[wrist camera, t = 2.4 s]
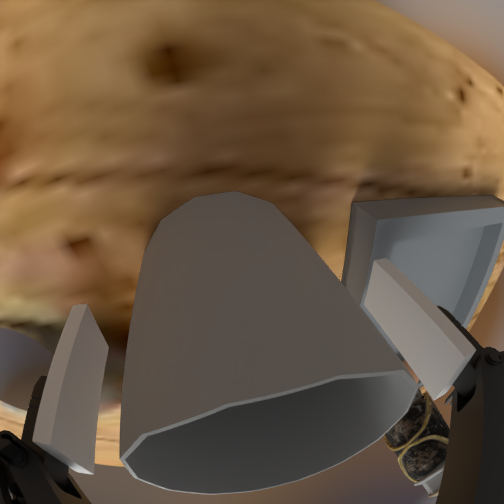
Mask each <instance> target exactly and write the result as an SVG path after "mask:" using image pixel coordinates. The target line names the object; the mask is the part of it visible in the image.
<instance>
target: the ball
mask: <svg viewBox="0 0 504 504" xmlns="http://www.w3.org/2000/svg"><path fill="white" fill-rule="evenodd" d="M402 363H403V364H404V365H405V367H406V368H407V370H408V371H409V372H410V374H411V375H412V377H413V378H414V380H415V381H416V382H417V384H418V382H419V378H418V377H417V375H416V374H415V372H414V371H413V370H412V368H411V367H410V365H409V364H408V363H407V361H402Z"/></svg>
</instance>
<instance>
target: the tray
mask: <svg viewBox="0 0 504 504" xmlns="http://www.w3.org/2000/svg"><path fill="white" fill-rule="evenodd" d="M503 239H504V201H503V200H501V199H499V198H497V197H495V196H493V195H484V196H449V197H426V198H407V199H391V200H377V201H363V202H352V206H351V216H350V225H349V233H348V241H347V248H346V256H345V262H344V269H343V275H342V281H341V283H342V284H343V285H344V287H345V288H346V289H347V290H348V292H349V293H350V294H351V295H352V297H353V298H354V299H355V300H356V302H357V303H358V304H359V305H360V307H361V308H362V309H363V311H364V312H365V313H366V315H367V316H368V317H369V318H370V320H371V321H372V322H373V324H374V325H375V326H376V328H377V329H378V330H379V332H380V333H381V334H382V336H383V337H384V338H385V340H386V341H387V342H388V344H389V345H390V346H391V348H392V349H393V350H394V352H395V353H396V354H397V356H398V357H399V359H400V360H401V361H406V360H405V358H404V357H403V356H402V354H401V353H400V352H399V350H398V349H397V348H396V346H395V345H394V343H393V342H392V341H391V339H390V338H389V337H388V335H387V334H386V333H385V331H384V330H383V329H382V328H381V326H380V325H379V324H378V322H377V321H376V320H375V318H374V317H373V316H372V315H371V313H370V312H369V311H368V309H367V308H366V307H365V306H364V302H365V298H366V294H367V290H368V285H369V281H370V277H371V272H372V267H373V262H374V260H378V259H383V258H387V259H388V260H389V261H390V262H391V263H392V264H393V265H395V266H396V267H397V268H398V269H399V270H400V271H401V272H402V273H403V274H404V275H405V276H406V277H407V278H408V279H409V280H410V281H412V282H413V283H414V284H415V285H416V286H417V287H418V288H419V289H420V290H421V291H422V292H423V293H424V294H425V295H426V296H427V297H428V298H429V299H430V300H431V301H432V302H433V303H434V304H435V305H436V306H441V307H443V308H444V309H446V310H448V311H449V312H450V313H451V314H452V315H453V316H454V317H455V318H456V320H458V321H459V322H460V324H461V326H463V327H464V328H465V329H466V328H467V326H468V324H469V322H470V320H471V318H472V316H473V314H474V312H475V310H476V308H477V306H478V304H479V302H480V299H481V297H482V295H483V293H484V290H485V288H486V286H487V283H488V281H489V279H490V276H491V273H492V271H493V268H494V266H495V263H496V260H497V257H498V255H499V252H500V249H501V246H502V243H503ZM418 385H419V387H421V386H423V384H422V382H421V381H420V379H419V382H418Z"/></svg>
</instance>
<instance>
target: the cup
mask: <svg viewBox="0 0 504 504" xmlns="http://www.w3.org/2000/svg"><path fill="white" fill-rule="evenodd" d="M418 388H419V385H418V384H417V382H416V381H415V380H414V378H413V377H412V375H411V374H410V372H409V371H408V370H407V368H406V367H405V365H404V364H403V363H402V361H401V360H400V359H399V357H398V356H397V354H396V353H395V352H394V350H393V349H392V348H391V346H390V345H389V344H388V342H387V341H386V340H385V338H384V337H383V336H382V334H381V333H380V332H379V330H378V329H377V328H376V326H375V325H374V324H373V322H372V321H371V320H370V318H369V317H368V316H367V315H366V313H365V312H364V311H363V309H362V308H361V307H360V305H359V304H358V303H357V302H356V300H355V299H354V298H353V297H352V295H351V294H350V293H349V292H348V290H347V289H346V288H345V287H344V285H343V284H342V283H341V282H340V280H339V279H338V278H337V277H336V275H335V274H334V273H333V272H332V270H331V269H330V268H329V267H328V266H327V264H326V263H325V262H324V261H323V260H322V258H321V257H320V256H319V255H318V253H317V252H316V251H315V250H314V249H313V248H312V246H311V245H310V244H309V243H308V242H307V240H306V239H305V238H304V237H303V236H302V235H301V233H300V232H299V231H298V230H297V229H296V228H295V226H294V225H293V224H292V223H291V222H290V221H289V220H288V219H287V218H286V217H285V216H284V215H283V214H282V213H281V211H280V210H279V209H278V208H277V207H276V206H275V205H274V204H273V203H271V202H268V201H265V200H262V199H259V198H256V197H253V196H250V195H247V194H244V193H241V192H238V191H231V192H224V193H217V194H210V195H204V196H197V197H194V198H192V199H191V200H189V201H188V202H186V203H185V204H183V205H182V206H180V207H179V208H177V209H176V210H174V211H173V212H171V213H170V214H169V215H167V216H166V217H164V218H163V219H161V221H160V223H159V225H158V227H157V228H156V230H155V232H154V234H153V236H152V238H151V240H150V242H149V244H148V246H147V247H146V249H145V251H144V256H143V260H142V265H141V269H140V274H139V279H138V284H137V289H136V294H135V300H134V305H133V311H132V317H131V323H130V330H129V337H128V344H127V351H126V359H125V368H124V378H123V389H122V402H121V418H120V460H121V461H122V463H123V464H124V465H125V467H126V468H127V469H128V471H129V472H130V473H131V474H132V475H133V477H134V478H136V479H138V480H141V481H144V482H146V483H149V484H151V485H154V486H157V487H160V488H163V489H166V490H171V491H178V492H186V493H196V494H229V493H241V492H250V491H257V490H262V489H267V488H271V487H275V486H280V485H283V484H287V483H291V482H295V481H298V480H301V479H304V478H307V477H309V476H312V475H314V474H317V473H319V472H322V471H324V470H326V469H329V468H331V467H333V466H335V465H338V464H340V463H342V462H344V461H346V460H347V459H349V458H351V457H352V456H354V455H356V454H357V453H359V452H360V451H362V450H363V449H365V448H367V447H368V446H370V445H371V444H373V443H374V442H376V441H377V440H379V439H380V438H381V437H382V436H383V435H384V434H386V433H387V432H388V431H389V430H390V429H391V428H392V427H393V426H394V425H395V424H396V423H397V422H398V421H399V420H400V419H401V418H402V417H403V416H404V415H405V414H406V413H407V412H408V410H409V408H410V406H411V403H412V401H413V399H414V397H415V395H416V393H417V390H418Z"/></svg>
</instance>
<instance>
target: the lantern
mask: <svg viewBox="0 0 504 504" xmlns="http://www.w3.org/2000/svg"><path fill="white" fill-rule="evenodd" d="M423 395H424V396H423ZM423 395H422V394H421V391H420V389H419V388H418V390H417V393H416V395H415V397H414V399H413V401H412V403H411V406H410V408H409V410H408V412H407V413H406V414H405V415H404V416H403V417H402V418H401V419H400V420H399V421H398V422H397V423H396V424H395V425H394V426H393V427H392V428H391V429H390V430H389V431H388V432H387V433H386V434H384V438H385V442H386V445H387V447H389V448H390V449H391V450H392V451H395V453H396V455H397V456H398V462H399V464H400V467H401V469H402V470H403V472H404V474H405V475H406V476H407V477H408V478H409V479H410V480H412V481H413V482H416V483H415V486H416V485H420V484H422V485H423V486H424V487H425V488H426V490H427V492H428V493H429V494H430V495H429V496H428V497H433V496H438V493H439V489H440V485H441V480H442V476H443V471H444V466H445V460H446V454H447V448H448V441H449V433H450V429H449V427H448V425H447V424H446V422H445V421H444V419H443V417H442V415H441V414H440V412H439V411H438V409H437V407H436V406H435V404H434V403H433V402H432V400H431V398H430V396H429V395H428V394H427V393H423ZM424 397H425V399H423V398H424Z"/></svg>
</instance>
